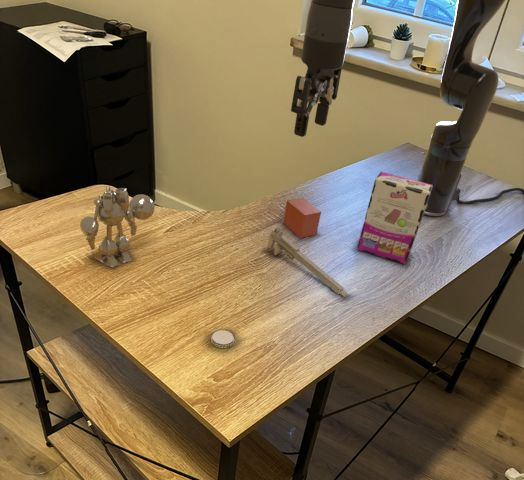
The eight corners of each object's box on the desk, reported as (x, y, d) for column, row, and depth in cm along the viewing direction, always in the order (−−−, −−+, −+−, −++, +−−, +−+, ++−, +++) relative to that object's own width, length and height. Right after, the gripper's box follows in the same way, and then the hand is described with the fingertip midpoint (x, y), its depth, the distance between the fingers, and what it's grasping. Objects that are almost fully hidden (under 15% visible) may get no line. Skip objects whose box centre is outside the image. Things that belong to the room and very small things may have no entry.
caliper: (266, 251, 111) (270, 224, 106) (270, 249, 111) (274, 223, 107) (344, 298, 101) (351, 271, 97) (347, 296, 102) (355, 269, 98)
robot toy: (144, 237, 109) (142, 167, 99) (162, 251, 106) (161, 180, 96) (79, 259, 101) (69, 185, 90) (96, 275, 98) (88, 200, 88)
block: (298, 219, 122) (302, 197, 118) (316, 234, 118) (321, 211, 114) (283, 223, 120) (286, 200, 116) (300, 238, 116) (304, 215, 112)
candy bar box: (409, 254, 117) (434, 184, 106) (405, 265, 113) (431, 193, 102) (361, 239, 119) (380, 169, 108) (355, 249, 115) (375, 178, 104)
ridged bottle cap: (205, 338, 88) (205, 335, 88) (223, 329, 90) (223, 326, 90) (221, 351, 86) (221, 348, 86) (239, 341, 89) (239, 338, 88)
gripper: (328, 45, 85) (310, 145, 96) (362, 34, 95) (342, 126, 106) (287, 34, 87) (274, 133, 98) (325, 24, 97) (309, 115, 108)
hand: (310, 129), depth 102 cm, fingers open, 8 cm apart
